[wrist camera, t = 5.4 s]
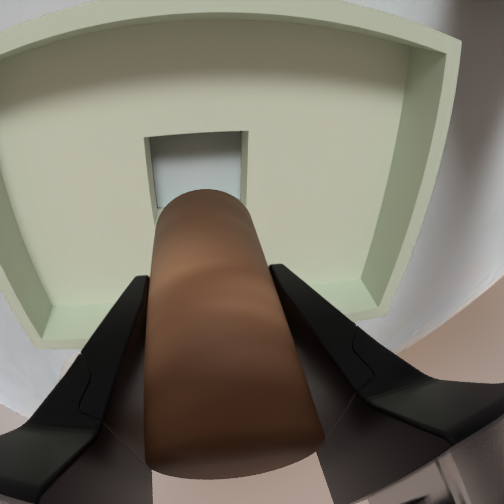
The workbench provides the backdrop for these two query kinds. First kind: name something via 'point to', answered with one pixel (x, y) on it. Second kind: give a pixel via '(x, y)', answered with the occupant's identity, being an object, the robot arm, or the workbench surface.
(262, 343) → the peg
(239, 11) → the box
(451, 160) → the workbench surface
